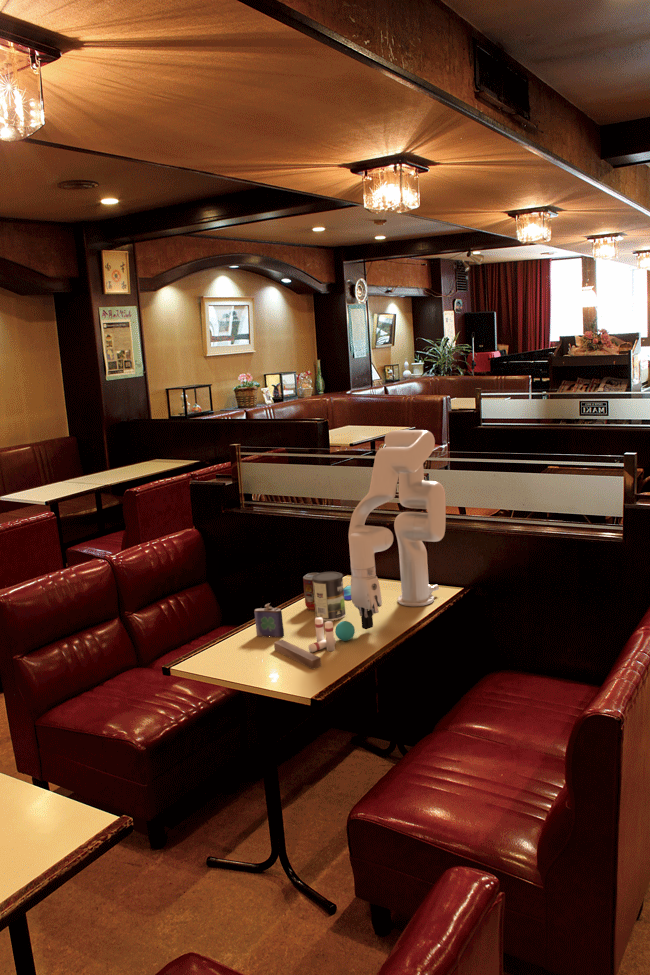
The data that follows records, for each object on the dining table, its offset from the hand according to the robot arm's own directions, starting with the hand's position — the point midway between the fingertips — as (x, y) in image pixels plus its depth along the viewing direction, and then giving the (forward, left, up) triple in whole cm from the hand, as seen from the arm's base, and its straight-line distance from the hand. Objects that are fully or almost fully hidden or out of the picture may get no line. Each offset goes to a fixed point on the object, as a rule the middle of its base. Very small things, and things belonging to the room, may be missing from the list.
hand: (367, 627), depth 235 cm
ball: (+9, 0, +2) cm, 9 cm away
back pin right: (+16, -2, -2) cm, 17 cm away
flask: (+23, -21, -2) cm, 31 cm away
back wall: (+27, 0, -2) cm, 27 cm away
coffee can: (-1, -21, -2) cm, 21 cm away
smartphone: (-20, -35, -2) cm, 40 cm away
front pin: (+13, 0, 0) cm, 13 cm away
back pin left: (+16, +3, -2) cm, 17 cm away
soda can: (-2, -31, -2) cm, 31 cm away
